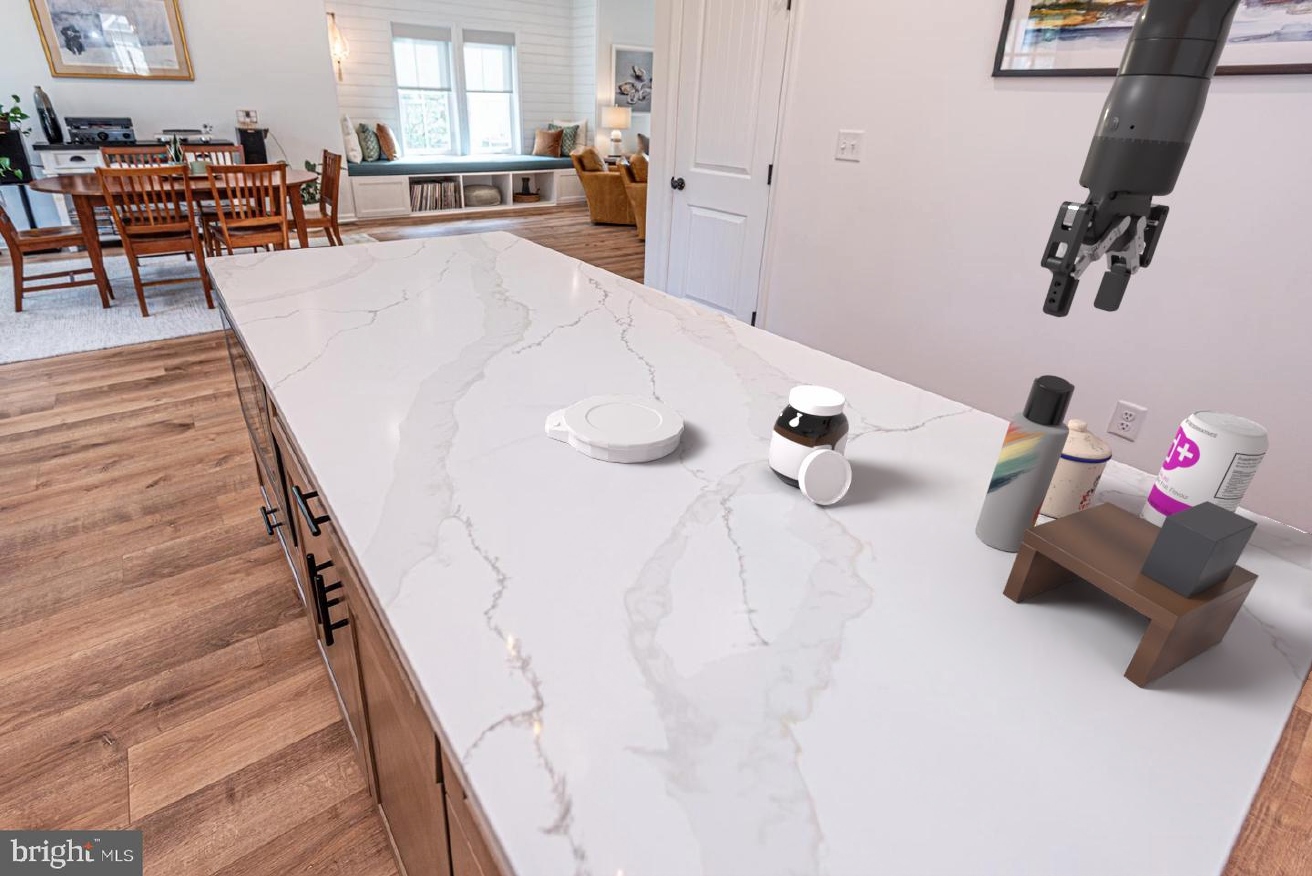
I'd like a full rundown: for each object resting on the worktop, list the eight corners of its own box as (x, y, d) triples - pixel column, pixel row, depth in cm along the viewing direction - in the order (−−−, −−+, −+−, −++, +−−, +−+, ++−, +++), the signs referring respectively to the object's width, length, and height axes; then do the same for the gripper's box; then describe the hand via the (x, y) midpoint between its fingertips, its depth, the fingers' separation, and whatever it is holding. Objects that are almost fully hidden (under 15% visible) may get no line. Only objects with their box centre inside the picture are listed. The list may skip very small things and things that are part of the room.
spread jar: (800, 454, 96) (814, 377, 91) (871, 486, 89) (891, 405, 84) (747, 480, 88) (759, 397, 83) (821, 517, 81) (839, 429, 76)
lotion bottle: (1023, 532, 81) (1080, 376, 73) (1030, 557, 76) (1092, 394, 68) (972, 520, 83) (1022, 366, 74) (976, 545, 78) (1030, 383, 69)
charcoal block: (1180, 554, 64) (1207, 500, 62) (1228, 578, 61) (1258, 523, 59) (1139, 572, 61) (1166, 516, 59) (1187, 599, 58) (1217, 541, 56)
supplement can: (1146, 540, 82) (1198, 427, 75) (1131, 508, 89) (1178, 402, 82) (1226, 558, 79) (1287, 444, 73) (1204, 524, 86) (1258, 416, 80)
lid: (566, 402, 107) (566, 385, 105) (691, 421, 104) (693, 403, 102) (525, 450, 91) (525, 430, 90) (670, 473, 88) (672, 453, 87)
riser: (1082, 561, 77) (1108, 501, 73) (1221, 642, 66) (1259, 575, 62) (1002, 593, 70) (1026, 529, 67) (1141, 688, 59) (1178, 617, 56)
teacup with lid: (1092, 529, 83) (1128, 444, 78) (1011, 509, 86) (1040, 426, 81) (1080, 486, 93) (1110, 409, 88) (1008, 470, 96) (1034, 394, 91)
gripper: (1141, 134, 55) (1073, 329, 62) (1228, 142, 61) (1157, 317, 68) (1054, 128, 60) (1001, 307, 67) (1143, 136, 67) (1085, 298, 74)
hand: (1080, 312), depth 68 cm, fingers open, 8 cm apart
